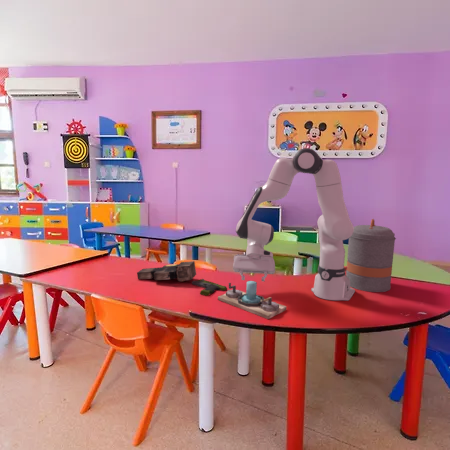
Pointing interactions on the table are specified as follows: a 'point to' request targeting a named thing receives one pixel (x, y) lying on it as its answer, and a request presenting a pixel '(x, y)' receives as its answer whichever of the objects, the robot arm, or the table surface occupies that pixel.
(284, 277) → the table surface
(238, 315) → the table surface
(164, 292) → the table surface
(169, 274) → the toy
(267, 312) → the board
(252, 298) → the teal gear
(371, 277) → the storage container
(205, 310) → the table surface
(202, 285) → the gun
